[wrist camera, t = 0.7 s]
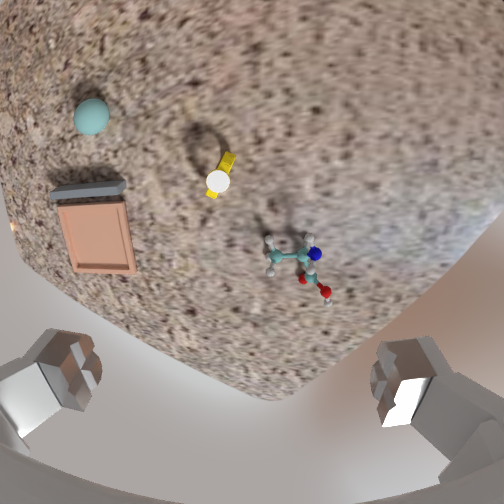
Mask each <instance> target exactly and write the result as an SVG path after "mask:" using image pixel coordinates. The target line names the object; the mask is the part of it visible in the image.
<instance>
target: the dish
mask: <svg viewBox="0 0 504 504" xmlns="http://www.w3.org/2000/svg"><path fill="white" fill-rule="evenodd" d="M57 209H58V214H59V218H60V222H61V226H62V230H63V234H64V238H65V242H66V246H67V249H68V253H69V256H70V260H71V263H72V266H73V270H74V272H81V273H105V274H134V275H135V274H136V272H137V271H138V270H137V265H136V260H135V255H134V250H133V245H132V240H131V234H130V228H129V223H128V217H127V210H126V204H125V200H124V201H104V202H87V203H72V204H61V205H59V206H58V207H57Z"/></svg>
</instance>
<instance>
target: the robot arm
mask: <svg viewBox="0 0 504 504" xmlns="http://www.w3.org/2000/svg"><path fill="white" fill-rule="evenodd" d="M93 348H94V343H93V341H92V338H91V337H90V336H88V335H86V334H81V333H75V332H69V331H64V330H57V329H52V328H51V329H47V330H46V331H45V332H44V333H43V334H42V335H41V336H40V338H39V339H38V340H37V341H36V342H35V343H34V344H33V346H32V347H31V348H30V349H29V350H28V351H27V353H26V354H25V355H24V356H23V357H22V358H17V359H15V360H13V361H10V362H8V363H6V364H4V365H2V366H0V504H181V503H175V502H170V501H165V500H158V499H154V498H149V497H145V496H140V495H136V494H132V493H128V492H124V491H120V490H117V489H113V488H110V487H106V486H103V485H100V484H96V483H94V482H90V481H87V480H85V479H82V478H79V477H76V476H73V475H71V474H68V473H65V472H63V471H60V470H57V469H55V468H53V467H51V466H48V465H46V464H43V463H41V462H39V461H36V460H35V459H33V458H30V457H28V455H29V453H30V448H29V446H28V445H27V444H26V443H25V442H24V440H23V439H22V438H23V437H24V436H25V435H27V434H28V433H29V432H30V431H32V430H33V429H35V428H36V427H37V426H39V425H40V424H41V423H43V422H44V421H45V420H47V419H48V418H49V417H50V416H52V415H53V414H54V413H56V412H57V411H58V410H60V409H61V408H62V407H66V408H70V409H74V410H78V411H82V412H84V410H85V408H86V406H87V404H88V403H89V401H90V399H91V397H92V395H91V391H90V390H92V389H93V388H95V387H97V386H98V384H99V382H100V380H101V375H102V364H101V361H100V358H99V357H98V356H97V355H96V354H95V353H94V352H93ZM376 354H377V356H378V359H379V360H378V361H377V362H376V363H375V364H374V365H373V367H372V371H371V379H370V384H371V391H372V394H373V397H374V398H376V399H377V400H378V401H380V402H379V404H378V407H377V410H378V414H379V417H380V420H381V423H382V427H384V426H391V425H398V424H405V423H410V424H411V425H412V426H413V427H414V428H415V429H416V430H417V431H418V432H419V433H420V434H421V435H423V436H424V437H425V438H426V439H427V440H428V441H429V442H430V443H431V444H432V445H433V446H435V447H436V448H437V449H438V450H439V451H440V452H441V453H442V454H443V455H444V456H446V457H447V458H448V459H449V460H450V461H451V462H450V463H449V464H448V465H447V466H446V467H445V469H444V470H443V471H442V472H441V473H440V475H439V476H438V478H439V481H440V484H437V485H434V486H431V487H428V488H424V489H421V490H417V491H414V492H410V493H406V494H402V495H397V496H393V497H388V498H384V499H379V500H374V501H368V502H362V503H356V504H504V398H502V397H500V396H499V395H497V394H495V393H493V392H491V391H490V390H488V389H486V388H484V387H483V386H481V385H480V384H478V383H476V382H474V381H472V380H471V379H469V378H467V377H466V376H464V375H462V374H461V373H459V372H457V373H454V372H453V370H452V369H451V367H450V365H449V364H448V362H447V360H446V359H445V357H444V356H443V354H442V352H441V351H440V349H439V347H438V346H437V345H436V343H435V341H434V340H433V338H432V337H430V336H425V337H417V338H413V339H404V340H394V341H383V342H380V344H379V346H378V349H377V353H376ZM61 406H62V407H61Z"/></svg>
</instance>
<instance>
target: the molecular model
mask: <svg viewBox="0 0 504 504" xmlns="http://www.w3.org/2000/svg"><path fill="white" fill-rule="evenodd" d="M313 240H314V235H313V234H312V233H307V234H306V235H305V237H304V239H303V241H304V246H303V249H300V250H298V252H297V253H286V254H282V252H281V251H280V250H277V249H275V246H274V244H273V241H274V238H273V237H272V236H271V235H268V236H266V237H265V242H266V243H267V244H269V246H270V249H271V252H270V253H267V254H266V256H265V258H266V260H268V261H272V262H271V265H270V267H269V268H267V269H266V275H267V276H270V277H271V276H273V275H274V273H275V271H274V267H275V264H276V262H280V261H281V260H282V258H297V259H298V260H299V261H301V262H303V263H304V265H305V268H306V273H305V274H301V275H300V276H299V279H298V280H299V282H300V283H301V284H306V283H307V282H310V283H312V282H314V283H315V284H316V285H317V286H318V287H319V288H320V289H321V290H320V293H321V295H322V296H323V297H325V301H324V305H325V306H326V307H330V306H331V305H332V300H331V299H329V296H330V295H331V288H330V287H328V286H323V285H322V284H321V283H320V282H319V281H318V280H317V274H316V272H315V267H314V265H315V262H316V260H319V259H320V258H321V256H322V252H321V250H320V249H319V248H317V247H315V245H314V242H313ZM308 245H310V248H311V249H310V251H309V252H308V250H307V248H308ZM309 257H310V258H311V262H310V265H309V264H308V261H307V260H308V259H309Z"/></svg>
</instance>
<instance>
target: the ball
mask: <svg viewBox="0 0 504 504" xmlns="http://www.w3.org/2000/svg"><path fill="white" fill-rule="evenodd" d="M109 116H110V113H109V109H108V106H107V105H106V104H105V103H104V102H103V101H102V100H100V99H96V98H92V99H87V100H85V101H83V102H82V103H81V104H80V105H79V106H78V107H77V109H76V110H75V113H74V125H75V127H76V129H77V130H78V131H79V132H81V133H82V134H85V135H94V134H97V133H99V132H101V131H102V130H103V129H104V128H105V127H106V125H107V123H108V121H109Z"/></svg>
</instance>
